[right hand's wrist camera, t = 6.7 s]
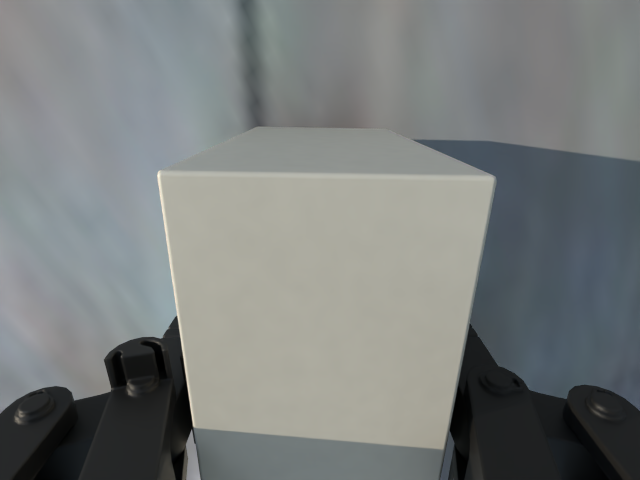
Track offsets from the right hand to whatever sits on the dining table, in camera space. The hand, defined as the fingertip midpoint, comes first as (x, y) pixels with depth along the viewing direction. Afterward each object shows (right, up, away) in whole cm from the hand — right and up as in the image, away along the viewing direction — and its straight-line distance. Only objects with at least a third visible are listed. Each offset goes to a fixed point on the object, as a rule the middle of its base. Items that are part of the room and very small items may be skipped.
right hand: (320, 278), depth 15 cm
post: (0, -27, +11) cm, 29 cm away
